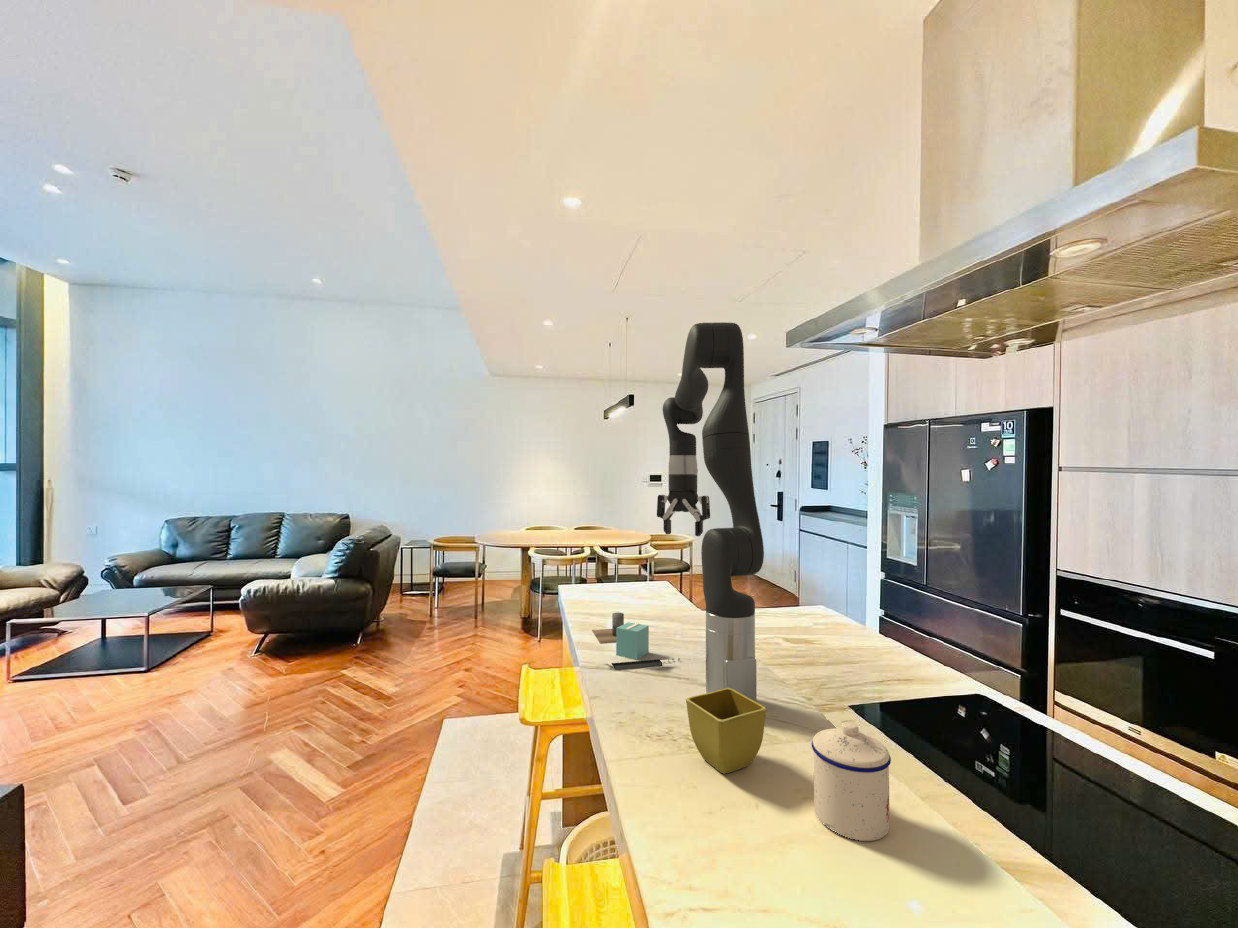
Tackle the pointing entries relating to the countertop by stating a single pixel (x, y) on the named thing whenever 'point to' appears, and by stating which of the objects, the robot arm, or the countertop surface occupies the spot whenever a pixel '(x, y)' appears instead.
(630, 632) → the striped teal box
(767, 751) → the countertop surface
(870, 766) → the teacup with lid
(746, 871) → the countertop surface
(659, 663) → the mat
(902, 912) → the countertop surface
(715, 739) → the flower pot
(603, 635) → the post base
